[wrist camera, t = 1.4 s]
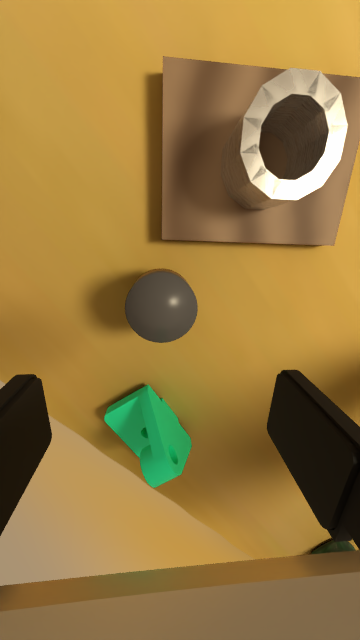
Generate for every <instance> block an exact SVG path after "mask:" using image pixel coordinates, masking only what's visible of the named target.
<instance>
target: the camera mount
mask: <svg viewBox="0 0 360 640" xmlns="http://www.w3.org/2000/svg"><path fill="white" fill-rule="evenodd" d="M104 420H105V422H106V423H107V424H108V425H109V426H110V427H111V428H112V430H113V431H114V432H115V433H116V434H117V435H118V436H119V437H120V438H121V439H122V440H123V441H124V442H125V443H126V444H127V445H128V446H129V447H130V449H131V450H132V451H133V452H134V453H135V454H136V455H137V456H138V457H139V458H140V465H141V469H142V473H143V475H144V477H145V479H146V481H147V483H148V484H149V485H150V486H151V487H154V488H155V487H158V486H160V485H161V484H163V483H165V482H167V481H169V480H171V479H173V478H175V477H177V476H179V475H181V474H182V471H183V469H184V466H185V463H186V461H187V458H188V455H189V452H190V450H191V447H192V444H191V438H190V437H189V435H188V434H187V433H186V432H185V430H184V429H183V428H182V426H181V425H180V424H179V422H178V418H177V416H176V415H175V414H174V412H173V411H172V410H171V409H170V407H169V406H168V405H167V403H166V402H165V401H164V400H163V398H161V399H160V398H159V397H158V396H157V395H156V393H155V392H154V391H153V390H152V388H151V387H150V386H149V384H148V385H146V386H144V387H143V388H141V389H139V390H137V391H136V392H134V393H132V394H130V395H129V396H127V397H125V398H123V399H121V400H120V401H118V402H116V403H114V404H113V405H111V406H109V407H108V408H107V411H106V414H105V417H104Z"/></svg>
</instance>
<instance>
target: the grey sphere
mask: <svg viewBox="0 0 360 640" xmlns="http://www.w3.org/2000/svg"><path fill="white" fill-rule="evenodd" d="M125 313H126V317H127V320H128V323H129V324H130V326H131V327H132V329H133V330H134V331H135V332H136V333H137V334H138V335H139V336H141V337H143V338H144V339H147V340H149V341H152V342H159V343H164V342H171V341H174V340H176V339H178V338H180V337H182V336H183V335H185V334H186V333H187V332H188V331H189V330H190V328H191V327H192V325H193V324H194V322H195V319H196V316H197V300H196V297H195V295H194V292H193V291H192V289H191V288H190V286H189V285H188V283H187V282H186V280H185V279H184V278H183V277H182V276H181V275H179V274H178V273H176V272H174V271H172V270H169V269H153V270H150V271H148V272H146V273H144V274H143V275H141V276H140V277H139V278H138V279H137V280H136V282H135V283H134V285H133V287H132V288H131V290H130V291H129V293H128V296H127V299H126V303H125Z"/></svg>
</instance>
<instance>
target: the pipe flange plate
mask: <svg viewBox="0 0 360 640" xmlns="http://www.w3.org/2000/svg"><path fill="white" fill-rule="evenodd" d="M359 141H360V77H351V76H341V75H332V74H323V73H321V72H320V71H315V70H306V69H297V68H289V69H288V70H286V69H276V68H267V67H258V66H248V65H239V64H230V63H220V62H211V61H202V60H192V59H183V58H174V57H164V56H163V124H162V240H187V241H215V242H243V243H271V244H300V245H331V246H334V244H335V240H336V236H337V231H338V227H339V223H340V219H341V215H342V211H343V207H344V203H345V199H346V194H347V190H348V186H349V182H350V178H351V174H352V170H353V166H354V161H355V157H356V153H357V149H358V145H359Z"/></svg>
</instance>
